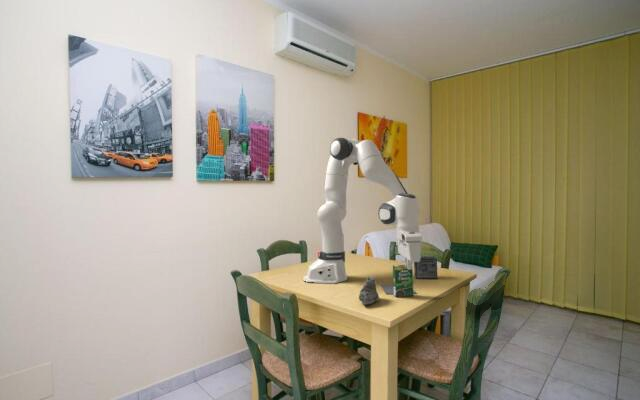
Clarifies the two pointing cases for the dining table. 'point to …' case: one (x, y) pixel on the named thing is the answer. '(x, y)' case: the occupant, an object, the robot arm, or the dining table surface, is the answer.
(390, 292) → the mat
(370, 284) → the mineral rock
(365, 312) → the dining table surface
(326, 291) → the dining table surface
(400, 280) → the coffee box
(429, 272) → the small box
